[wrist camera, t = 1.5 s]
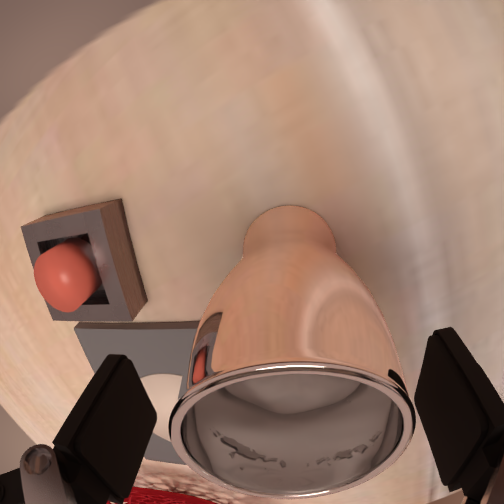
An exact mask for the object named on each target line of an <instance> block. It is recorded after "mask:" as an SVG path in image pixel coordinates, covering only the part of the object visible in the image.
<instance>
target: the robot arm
mask: <svg viewBox="0 0 504 504" xmlns="http://www.w3.org/2000/svg"><path fill="white" fill-rule="evenodd" d="M414 401H415V406H416V408H417V411H418V414H419V416H420V419H421V422H422V425H423V427H424V430H425V433H426V436H427V439H428V441H429V444H430V447H431V450H432V453H433V456H434V459H435V462H436V465H437V468H438V472H439V475H440V478H441V481H442V484H443V485H444V486H447V485H448V488H449V492H451V491H454V490H457V489H460V488H462V490H463V493H464V496H465V497H464V499H463V501H462V503H461V504H504V403H503V401H502V400H501V398H500V396H499V395H498V393H497V392H496V390H495V388H494V387H493V385H492V383H491V382H490V380H489V379H488V377H487V375H486V374H485V372H484V371H483V369H482V368H481V366H480V365H479V364H478V363H477V362H476V360H475V359H474V357H473V356H472V354H471V353H470V352H469V350H468V349H467V347H466V346H465V344H464V343H463V341H462V340H461V338H460V337H459V336H458V334H457V333H456V331H455V330H454V329H453V328H452V327H448V328H443V329H438V330H435V331H434V332H433V335H432V336H429V338H428V341H427V346H426V351H425V355H424V360H423V364H422V368H421V372H420V376H419V380H418V384H417V388H416V392H415V396H414ZM156 422H157V413H156V410H155V408H154V406H153V404H152V402H151V400H150V398H149V396H148V394H147V392H146V390H145V388H144V386H143V384H142V382H141V380H140V377H139V375H138V373H137V371H136V369H135V366H134V364H133V362H132V360H130V359H128V357H127V356H126V355H123V354H109V355H107V356H106V358H105V359H104V361H103V362H102V364H101V365H100V367H99V368H98V370H97V371H96V373H95V374H94V376H93V378H92V379H91V381H90V382H89V384H88V385H87V387H86V388H85V390H84V392H83V393H82V395H81V396H80V398H79V399H78V401H77V403H76V404H75V406H74V407H73V409H72V411H71V412H70V414H69V416H68V417H67V419H66V420H65V422H64V424H63V425H62V427H61V429H60V430H59V432H58V434H57V435H56V437H55V439H54V440H53V442H52V443H53V444H54V445H55V446H54V448H53V449H52V448H51V447H50V446H47V445H44V444H38V445H34V446H32V447H30V448H29V449H27V450H26V451H25V453H24V454H23V455H22V457H21V460H20V468H18V469H15V470H12V471H10V472H7V473H4V474H1V475H0V504H106V503H107V501H110V502H114V503H117V504H123V502H124V499H125V498H128V497H129V495H130V493H131V490H132V487H133V484H134V481H135V479H136V476H137V473H138V470H139V468H140V465H141V462H142V460H143V457H144V454H145V451H146V449H147V446H148V443H149V441H150V438H151V435H152V433H153V430H154V427H155V425H156Z"/></svg>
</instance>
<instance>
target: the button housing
mask: <svg viewBox="0 0 504 504" xmlns="http://www.w3.org/2000/svg"><path fill="white" fill-rule="evenodd" d="M21 229H22V233H23V236H24V240H25V243H26V247H27V250H28V253H29V256H30V259H31V263H32V266H33V269H34V266H35V262H36V260H37V258H38V257H39V256H40V255H41V254H43V253H45V252H46V251H48V250H50V249H51V248H53V247H55V246H56V245H58V244H60V243H61V242H63V241H65V240H66V239H69V238H80V239H82V240H84V241H86V242H88V243H89V244H90V245H91V246H92V250H93V253H94V257H95V260H96V264H97V267H98V270H99V273H100V277H101V280H102V284H101V286H100V287H99V288H98V289H97V290H96V291H95V292H94V293H93V294H92V295H91V296H90V297H89V298H88V299H87V300H86V301H85V302H84V303H83V304H82V305H81V306H80V307H79V308H78V309H76V310H75V311H73V312H62V311H59V310H57V309H55V308H54V307H52V306H51V305H50V304H49V303H48V302H47V301H46V300H45V302H46V304H47V307H48V309H49V312H50V314H51V316H52V319H53V320H57V321H133V320H134V318H135V317H136V316H137V314H138V313H139V312H140V310H141V309H142V308H143V306H144V305H145V304H146V302H147V301H148V300H147V297H146V293H145V290H144V287H143V283H142V280H141V276H140V272H139V269H138V265H137V262H136V258H135V254H134V250H133V246H132V242H131V238H130V234H129V230H128V226H127V222H126V217H125V213H124V208H123V204H122V199H117V200H112V201H107V202H102V203H98V204H93V205H88V206H84V207H79V208H75V209H71V210H66V211H62V212H58V213H54V214H50V215H46V216H43V217H41V218H38V219H36V220H34V221H32V222H30V223H28V224H26V225H23V226H21Z"/></svg>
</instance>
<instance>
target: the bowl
mask: <svg viewBox="0 0 504 504" xmlns="http://www.w3.org/2000/svg"><path fill="white" fill-rule="evenodd" d="M124 502H128V503H125V504H217V503H214V502H212V501H209V500H205V499H202V498H198V497H194V496H190V495H185V494H180V493H175V492H169V491H163V490H155V489H148V488H140V487H132V490H131V493H130V495H129V497H128V498H125V499H124ZM107 504H112V503H110V501H107ZM115 504H117V503H115Z"/></svg>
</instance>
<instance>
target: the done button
mask: <svg viewBox="0 0 504 504" xmlns="http://www.w3.org/2000/svg"><path fill="white" fill-rule="evenodd" d="M34 277H35V281H36V285H37V287H38V289H39V291H40V293H41V295H42V296H43V298H44V299H45V300H46V301H47V302H48V303H49V304H50V305H51V306H52V307H54V308H55V309H57V310H59V311H62V312H73V311H75V310H76V309H78V308H79V307H80V306H81V305H82V304H83V303H84V302H85V301H86V300H87V299H88V298H89V297H90V296H91V295H92V294H93V293H94V292H95V291H96V290H97V289H98V288H99V287H100V286H101V284H102V280H101V277H100V273H99V270H98V267H97V264H96V260H95V257H94V253H93V250H92V246H91V245H90V244H89V243H88V242H86V241H84V240H82V239H80V238H69V239H66V240H65V241H63V242H61V243H60V244H58V245H56V246H55V247H53V248H51V249H50V250H48V251H46V252H45V253H43V254H41V255H40V256H39V257H38V258H37V260H36V262H35V266H34Z"/></svg>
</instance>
